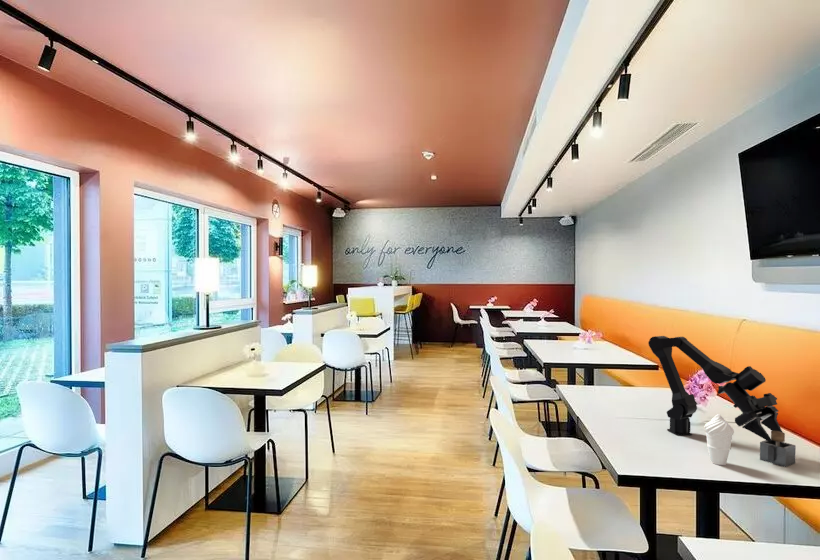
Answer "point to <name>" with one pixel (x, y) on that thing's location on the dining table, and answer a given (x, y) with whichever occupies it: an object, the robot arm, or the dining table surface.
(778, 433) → the plunger
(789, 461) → the box
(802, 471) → the dining table surface
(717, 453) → the soft serve ice cream cone
